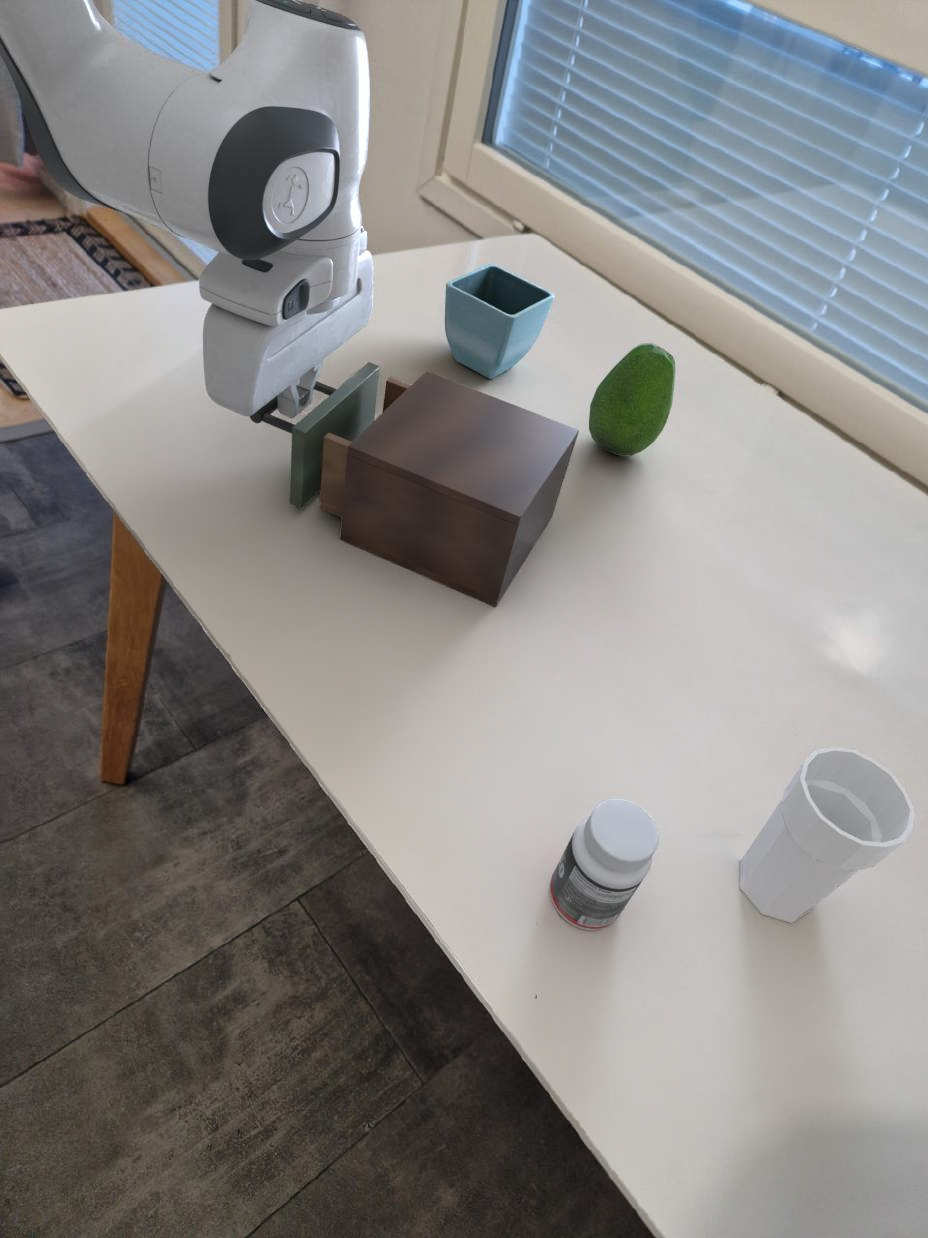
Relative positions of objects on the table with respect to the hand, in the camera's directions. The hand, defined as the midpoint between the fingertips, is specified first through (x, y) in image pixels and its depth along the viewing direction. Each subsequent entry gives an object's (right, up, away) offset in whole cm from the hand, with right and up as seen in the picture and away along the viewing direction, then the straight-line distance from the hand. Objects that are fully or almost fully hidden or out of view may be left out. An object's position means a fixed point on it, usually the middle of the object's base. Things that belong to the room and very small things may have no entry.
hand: (295, 408), depth 76 cm
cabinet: (+14, -10, +1) cm, 17 cm away
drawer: (+6, -6, +2) cm, 9 cm away
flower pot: (+17, +10, +22) cm, 30 cm away
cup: (+35, -36, -18) cm, 54 cm away
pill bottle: (+22, -36, -21) cm, 47 cm away
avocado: (+31, -1, +15) cm, 34 cm away
